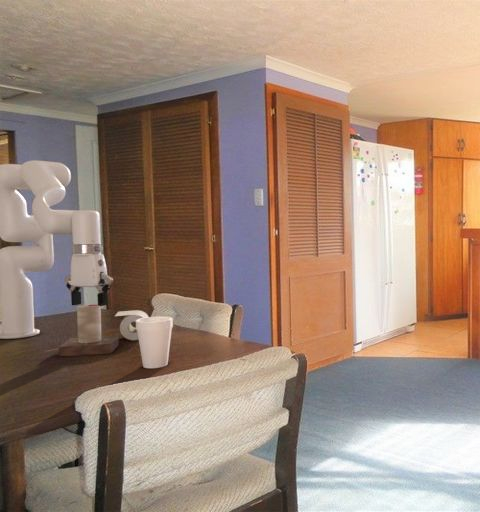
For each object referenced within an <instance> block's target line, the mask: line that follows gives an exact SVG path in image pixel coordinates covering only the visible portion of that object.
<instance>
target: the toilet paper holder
mask: <svg viewBox="0 0 480 512" xmlns="http://www.w3.org/2000/svg"><path fill="white" fill-rule="evenodd" d="M121 316H122V317H123V316H124V317H123V319H122V320H121V322H120V323H119V332H120V334H121V336H122V337H123V338H124V339H127V340H128V341H139V339H138V333H137V330H136V327H134V326H133V325H132V323H136V320H138V319H141V318H147V317H150V316H149V315H148V314H147V313H146V312H145V311H143V310H138V309H136V310H122V311H117V313H116V314H115V315H114V317H121Z"/></svg>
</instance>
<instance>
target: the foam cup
mask: <svg viewBox="0 0 480 512" xmlns="http://www.w3.org/2000/svg"><path fill="white" fill-rule="evenodd" d="M173 323H174V319H173V317H170V316H149V317H147V318H141V319H138V320H136V322H135V328H136V330H137V333H138V345H139V350H140V356H141V357H140V358H141V362H142V367H143V368H145V369H158V368H163V367H166V366H168V362H169V355H170V347H171V338H172V329H173V326H174V324H173Z"/></svg>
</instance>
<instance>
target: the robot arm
mask: <svg viewBox="0 0 480 512" xmlns="http://www.w3.org/2000/svg"><path fill="white" fill-rule="evenodd" d="M71 179H72V175H71V171H70V169H69V167H68V166H66V165H65V164H64V163H62V162H57V161H46V160H38V159H37V160H36V159H35V160H34V159H33V160H29V161H28V160H27V161H25V162H24V163H23V164H17V163H2V164H0V239H1V240H2V241H4V242H8V243H32V244H33V245H11V246H5V247H2V248H0V322H1V323H0V339H2V340H8V339H9V340H12V339H23V338H29V337H33V336H37V335H39V334H41V332H40V331H41V330H40V329H39V328H35V313H34V312H35V310H34V308H35V307H34V289H33V288H34V285H33V283H32V281H31V280H30V279H29V278H28V276H27V275H26V274H27V273H28V274H29V273H39V272H46V271H50V270H51V269H52V267H53V266H54V263H55V253H54V250H55V249H54V239H53V238H54V236H53V235H72V252H73V253H72V255H71V261H70V262H71V263H70V274H68V275H67V276H65V277H64V278H63V281H64V283H65V287H66V288H67V289H68V291H69V293H70V296H71V297H70V298H71V299H70V300H71V306H80V305H82V292H81V289H82V288H95V289H96V291H98V293H97V305H98V306H101V307H103V306H104V307H105V306H107V305H108V293H109V291H110V290H111V288H112V285H113V283H114V278H113V277H111V276H110V275H108V268H107V264H106V259H105V255H104V254H103V253H102V252H103V250H104V247H103V246H102V244H101V243H102V241H101V218H100V217H101V216H100V213H99V212H98V211H97V210H93V209H91V210H88V209H85V210H84V209H79V210H77V209H75V210H74V209H73V210H71V209H52V208H50V207H53V206H55V205H57V204H59V203H60V202H62V201H63V200H64V198H65V197H66V187H67V186H68V185H69V184H70V182H71ZM18 190H21V191H22V190H26V191H31V193H32V194H33V196H34V198H33V201H32V206H31V210H32V211H31V212H32V215H29V214H28V206H27V205H28V204H27V201H26V199H25V198H24V196H23V195H22V194H21V193H20V192H19V191H18Z"/></svg>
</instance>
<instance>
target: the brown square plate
mask: <svg viewBox="0 0 480 512" xmlns="http://www.w3.org/2000/svg"><path fill="white" fill-rule="evenodd" d="M101 339H102V340H101V341H98V342H93V343H79V342H78V337H70V338H69V339H67V340H66V341H64V342H63V343H62V344H60V345H59V346H58V357H75V356H91V355H108V354H112V353H113V351H115V349H116V348H117V347H118V346H119V344H120V343H119V342H120V339H119V335H110V336H101Z"/></svg>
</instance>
